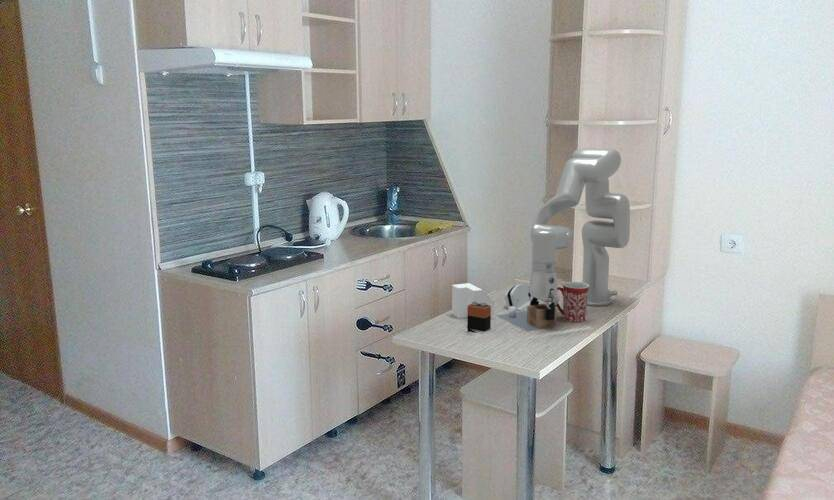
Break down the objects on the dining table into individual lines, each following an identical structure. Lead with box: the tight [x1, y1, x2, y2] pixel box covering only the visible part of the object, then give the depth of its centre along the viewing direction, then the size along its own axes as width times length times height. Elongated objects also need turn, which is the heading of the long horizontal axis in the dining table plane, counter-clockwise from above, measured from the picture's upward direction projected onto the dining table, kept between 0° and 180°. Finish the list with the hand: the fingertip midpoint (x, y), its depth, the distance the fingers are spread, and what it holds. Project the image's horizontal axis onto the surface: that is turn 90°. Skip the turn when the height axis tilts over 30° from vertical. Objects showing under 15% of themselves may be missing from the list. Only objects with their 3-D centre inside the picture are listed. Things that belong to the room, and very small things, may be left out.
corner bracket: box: [451, 282, 495, 320], centre depth 239 cm, size 11×11×12 cm
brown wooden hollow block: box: [526, 303, 558, 329], centre depth 229 cm, size 7×7×6 cm
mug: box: [556, 281, 589, 323], centre depth 235 cm, size 13×9×14 cm
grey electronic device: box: [504, 283, 530, 312], centre depth 253 cm, size 17×5×10 cm, turn 148°
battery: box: [466, 302, 492, 334], centre depth 225 cm, size 4×7×10 cm, turn 56°
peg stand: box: [495, 306, 560, 332], centre depth 233 cm, size 13×20×6 cm, turn 25°
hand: (542, 316), depth 229 cm, fingers open, 8 cm apart
